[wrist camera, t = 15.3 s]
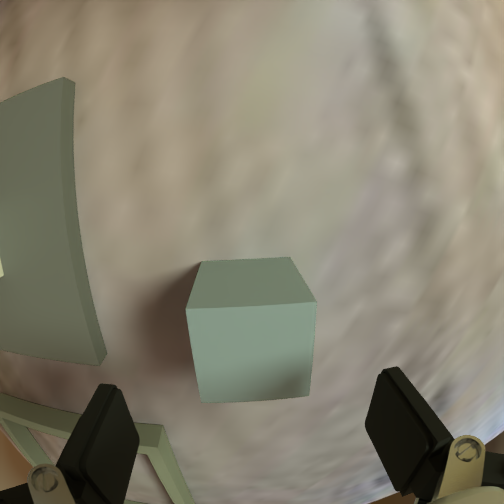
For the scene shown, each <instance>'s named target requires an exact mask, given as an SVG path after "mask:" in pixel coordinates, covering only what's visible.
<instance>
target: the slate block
mask: <svg viewBox="0 0 504 504" xmlns="http://www.w3.org/2000/svg"><path fill="white" fill-rule="evenodd" d="M316 308H317V301H316V299H315V298H314V296H313V294H312V293H311V291H310V289H309V288H308V286H307V284H306V283H305V281H304V279H303V278H302V276H301V274H300V273H299V271H298V269H297V268H296V266H295V264H294V263H293V261H292V259H291V258H290V257H280V258H261V259H241V260H220V261H202V262H201V265H200V267H199V270H198V273H197V276H196V279H195V282H194V285H193V288H192V291H191V294H190V297H189V300H188V303H187V306H186V316H187V323H188V329H189V336H190V342H191V348H192V354H193V360H194V366H195V372H196V377H197V382H198V388H199V393H200V398H201V403H225V402H249V401H264V400H276V399H287V398H296V397H304V396H309V392H310V383H311V373H312V362H313V350H314V338H315V324H316Z"/></svg>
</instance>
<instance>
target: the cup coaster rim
mask: <svg viewBox="0 0 504 504" xmlns="http://www.w3.org/2000/svg"><path fill="white" fill-rule="evenodd" d="M80 417H81V414H76V413H71V412H67V411H62V410H58V409H54V408H50V407H46V406H42V405H38V404H35V403H31V402H28V401H25V400H21V399H18V398H15V397H12V396H9V395H6V394H3V393H0V423H1V425H2V426H3V427H4V429H5V430H6V432H7V433H8V435H9V436H10V437H11V439H12V440H13V442H14V443H15V444H16V446H17V447H18V448H19V450H20V451H21V452H22V453H23V455H24V456H25V457H26V458H27V460H28V461H29V462H30V463H31V464H32V466H33V467H35V466H37V465H39V464H45V463H46V464H51V465H54V464H53V463H52V462H51V461H50V459H49V458H48V457H47V455H46V454H45V453H44V451H43V450H42V449H41V447H40V446H39V445H38V443H37V442H36V440H35V439H34V438H33V436H32V435H31V433H30V432H29V430H28V429H27V427H28V428H31V429H34V430H37V431H40V432H43V433H47V434H50V435H53V436H57V437H60V438H64V439H69V437H70V435H71V433H72V431H73V429H74V427H75V426H76V424H77V422H78V420H79V418H80ZM134 425H135V427H136V430H137V432H138V434H139V438H140V443H139V447H138V451H137V453H140V454H147V455H148V457H149V459H150V461H151V463H152V465H153V467H154V469H155V471H156V473H157V475H158V476H159V478H160V480H161V482H162V484H163V485H164V487H165V489H166V491H167V492H168V494H169V496H170V498H171V499H172V501H173V502H174V504H195V502H194V500H193V498H192V496H191V494H190V492H189V489H188V487H187V485H186V483H185V480H184V478H183V476H182V473H181V471H180V469H179V466H178V464H177V461H176V459H175V456H174V454H173V451H172V449H171V446H170V443H169V441H168V438H167V435H166V433H165V430H164V427H163V425H153V424H142V423H134ZM124 504H146V503H140V502H134V501H129V500H124Z"/></svg>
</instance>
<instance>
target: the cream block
mask: <svg viewBox="0 0 504 504" xmlns="http://www.w3.org/2000/svg"><path fill="white" fill-rule="evenodd" d="M2 276H4V273H3V269H2V264H1V259H0V277H2Z"/></svg>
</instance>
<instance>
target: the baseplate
mask: <svg viewBox="0 0 504 504" xmlns="http://www.w3.org/2000/svg"><path fill="white" fill-rule="evenodd" d="M74 93H75V82H73V81H71V80H69V79H67V78H65V77H62V78H59V79H56V80H53V81H50V82H48V83H45V84H42V85H40V86H37V87H35V88H32V89H30V90H27V91H25V92H22V93H20V94H18V95H16V96H13V97H11V98H9V99H7V100H5V101H3V102H1V103H0V259H1V264H2V269H3V273H4V276H2V277H0V350H3V351H7V352H12V353H17V354H22V355H27V356H32V357H38V358H44V359H50V360H56V361H63V362H71V363H78V364H87V365H96V366H100V365H101V363H102V361H103V360H104V358H105V356H106V355H107V352H106V348H105V345H104V342H103V338H102V335H101V331H100V327H99V324H98V320H97V316H96V312H95V308H94V304H93V300H92V295H91V291H90V286H89V281H88V276H87V271H86V266H85V261H84V255H83V249H82V242H81V235H80V228H79V220H78V212H77V202H76V191H75V176H74V154H73V115H74Z"/></svg>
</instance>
